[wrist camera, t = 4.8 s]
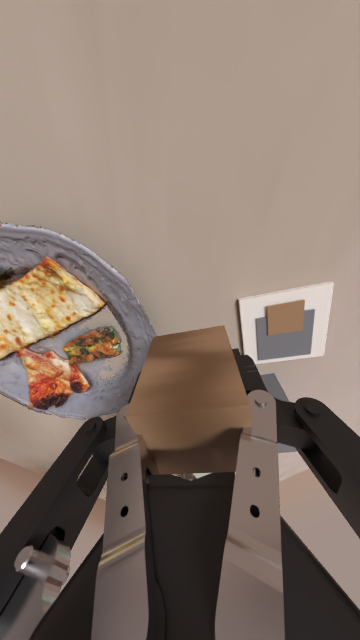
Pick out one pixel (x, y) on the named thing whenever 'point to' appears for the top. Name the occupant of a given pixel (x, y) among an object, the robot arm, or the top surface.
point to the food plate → (64, 325)
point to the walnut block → (191, 403)
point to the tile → (286, 323)
